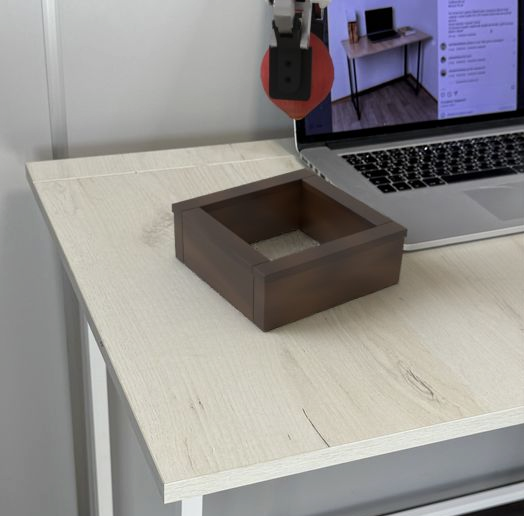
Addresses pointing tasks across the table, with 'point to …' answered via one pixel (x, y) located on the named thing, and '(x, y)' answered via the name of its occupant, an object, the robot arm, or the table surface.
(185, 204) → the wooden box
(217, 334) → the table surface
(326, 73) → the red rounded tapered piece
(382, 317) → the table surface
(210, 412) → the table surface
